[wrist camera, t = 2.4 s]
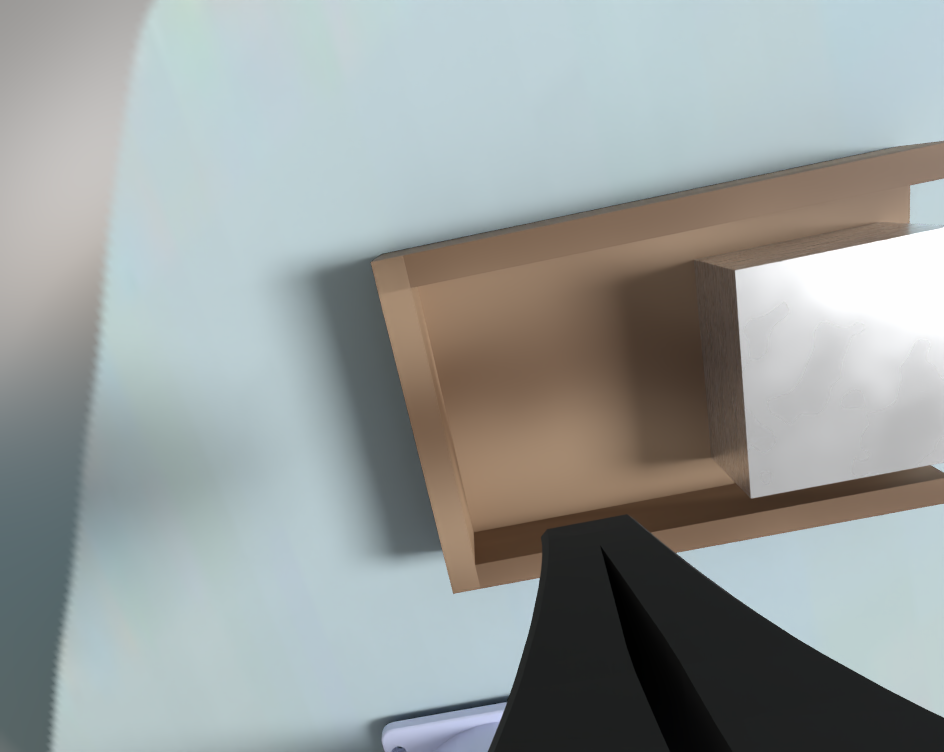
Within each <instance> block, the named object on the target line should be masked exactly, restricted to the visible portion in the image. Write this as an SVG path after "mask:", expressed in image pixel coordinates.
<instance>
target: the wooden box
mask: <svg viewBox="0 0 944 752" xmlns="http://www.w3.org/2000/svg"><path fill="white" fill-rule="evenodd" d="M943 178H944V141H940V142H931V143H923V144H914V145H906V146H898V147H893V148H888V149H883V150H878V151H873V152H869V153H864V154H859V155H854V156H849V157H845V158H840V159H835V160H830V161H825V162H821V163H816V164H811V165H806V166H801V167H797V168H792V169H787V170H782V171H778V172H773V173H768V174H763V175H758V176H754V177H749V178H744V179H739V180H734V181H730V182H725V183H720V184H715V185H710V186H706V187H701V188H696V189H691V190H686V191H682V192H677V193H672V194H667V195H662V196H658V197H653V198H648V199H643V200H639V201H634V202H629V203H624V204H619V205H615V206H610V207H605V208H600V209H595V210H591V211H586V212H581V213H576V214H571V215H567V216H562V217H557V218H552V219H547V220H543V221H538V222H533V223H528V224H524V225H519V226H514V227H509V228H504V229H500V230H495V231H490V232H485V233H480V234H476V235H471V236H466V237H461V238H456V239H452V240H447V241H442V242H437V243H432V244H428V245H423V246H418V247H413V248H408V249H404V250H399V251H394V252H389V253H385V254H382V255H380V256H379V257H377V258H376V259H374V260H373V261H372V262H371V266H372V270H373V274H374V278H375V282H376V286H377V290H378V294H379V298H380V302H381V306H382V310H383V314H384V318H385V322H386V326H387V330H388V334H389V338H390V342H391V346H392V350H393V354H394V358H395V362H396V366H397V370H398V374H399V378H400V382H401V386H402V390H403V394H404V398H405V402H406V406H407V410H408V414H409V418H410V422H411V426H412V430H413V434H414V438H415V442H416V446H417V450H418V454H419V458H420V462H421V466H422V470H423V474H424V478H425V482H426V486H427V490H428V494H429V498H430V502H431V506H432V510H433V514H434V518H435V522H436V526H437V530H438V534H439V538H440V542H441V547H442V551H443V555H444V559H445V563H446V567H447V571H448V575H449V579H450V583H451V587H452V591H453V594H454V593H460V592H465V591H470V590H476V589H481V588H487V587H492V586H498V585H503V584H509V583H514V582H519V581H525V580H530V579H536V578H540V573H541V565H542V542H541V536H542V535H543V534H544V532H545V531H546V530H547V529H550V528H556V527H561V526H566V525H572V524H577V523H582V522H588V521H593V520H599V519H604V518H609V517H615V516H620V515H625V514H628V515H629V516H631V517H632V518H633V519H635V520H636V521H637V522H638V523H640V524H641V525H642V526H643V527H644V528H646V529H647V530H648V531H649V532H650V533H652V534H653V535H654V536H655V537H656V538H658V539H659V540H660V541H661V542H662V543H664V544H665V545H666V546H667V547H669V548H670V549H671V550H672V551H674V552H675V553H677V552H683V551H688V550H693V549H699V548H704V547H710V546H715V545H721V544H726V543H732V542H737V541H742V540H748V539H753V538H759V537H764V536H770V535H775V534H780V533H786V532H791V531H797V530H802V529H808V528H813V527H819V526H824V525H829V524H835V523H840V522H846V521H851V520H857V519H862V518H867V517H873V516H878V515H884V514H889V513H895V512H900V511H906V510H911V509H916V508H922V507H927V506H933V505H938V504H944V473H943V472H941V471H940V470H938V469H936V468H934V467H933V466H931V465H928V466H923V467H917V468H912V469H907V470H901V471H896V472H891V473H885V474H880V475H875V476H869V477H864V478H859V479H853V480H848V481H842V482H837V483H832V484H826V485H821V486H816V487H810V488H805V489H800V490H794V491H789V492H784V493H778V494H773V495H767V496H762V497H757V498H750V497H749V496H748V495H747V494H746V493H745V492H744V491H743V490H742V489H741V488H740V487H739V486H738V485H737V484H736V483H735V482H734V481H733V480H732V478H731V477H730V476H729V475H728V474H727V473H726V472H725V471H724V470H723V469H722V468H721V467H720V466H719V465H718V464H717V463H716V462H715V461H714V460H713V459H712V457H711V446H710V435H709V424H708V413H707V401H706V390H705V379H704V368H703V357H702V346H701V335H700V324H699V312H698V301H697V290H696V279H695V268H694V259H699V258H704V257H709V256H714V255H719V254H724V253H729V252H734V251H738V250H743V249H748V248H753V247H758V246H763V245H768V244H773V243H778V242H783V241H788V240H792V239H797V238H802V237H807V236H812V235H817V234H822V233H827V232H832V231H837V230H842V229H846V228H851V227H856V226H861V225H866V224H871V223H876V222H893V223H909V219H910V185H914V184H919V183H924V182H929V181H934V180H938V179H943Z"/></svg>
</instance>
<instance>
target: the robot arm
mask: <svg viewBox="0 0 944 752" xmlns="http://www.w3.org/2000/svg"><path fill="white" fill-rule="evenodd" d="M541 542H542V565H541V573H540V581H539V588H538V593H537V598H536V602H535V607H534V612H533V617H532V622H531V626H530V630H529V634H528V637H527V641H526V644H525V647H524V651H523V654H522V658H521V661H520V664H519V668H518V671H517V675H516V678H515V681H514V684H513V687H512V690H511V693H510V695H509V698H508V701H507V702H504V703H498V704H493V705H487V706H481V707H476V708H470V709H464V710H458V711H453V712H447V713H441V714H436V715H430V716H424V717H419V718H413V719H407V720H402V721H396V722H392V723H389V724H387V725H386V726H385V727H384V729H383V731H382V738H381V740H382V745H383V748H384V752H944V718H943V717H941V716H939V715H937V714H935V713H933V712H931V711H928V710H926V709H925V708H923V707H921V706H919V705H917V704H915V703H913V702H911V701H909V700H907V699H905V698H903V697H901V696H899V695H897V694H895V693H893V692H891V691H889V690H887V689H885V688H883V687H882V686H880V685H878V684H876V683H874V682H873V681H871V680H869V679H867V678H865V677H864V676H862V675H860V674H858V673H856V672H855V671H853V670H851V669H849V668H847V667H845V666H844V665H842V664H840V663H838V662H836V661H835V660H833V659H831V658H829V657H827V656H826V655H824V654H822V653H820V652H819V651H817V650H815V649H814V648H812V647H810V646H809V645H807V644H805V643H803V642H802V641H800V640H798V639H797V638H795V637H794V636H792V635H790V634H789V633H787V632H786V631H784V630H783V629H781V628H780V627H778V626H777V625H775V624H773V623H772V622H770V621H769V620H767V619H766V618H764V617H763V616H761V615H760V614H758V613H757V612H755V611H754V610H752V609H751V608H749V607H748V606H746V605H745V604H744V603H742V602H741V601H739V600H738V599H736V598H735V597H733V596H732V595H731V594H729V593H728V592H727V591H725V590H724V589H723V588H721V587H720V586H718V585H717V584H716V583H714V582H713V581H712V580H710V579H709V578H707V577H706V576H705V575H703V574H702V573H701V572H699V571H698V570H697V569H695V568H694V567H693V566H691V565H690V564H689V563H688V562H686V561H685V560H684V559H682V558H681V557H680V556H679V555H677V554H676V553H675V552H674V551H672V550H671V549H670V548H669V547H667V546H666V545H665V544H664V543H662V542H661V541H660V540H659V539H658V538H656V537H655V536H654V535H653V534H652V533H650V532H649V531H648V530H647V529H646V528H644V527H643V526H642V525H641V524H640V523H638V522H637V521H636V520H635V519H633V518H632V517H631V516H629V515H628V514H625V515H620V516H615V517H609V518H604V519H599V520H593V521H588V522H582V523H577V524H572V525H566V526H561V527H556V528H550V529H547V530H546V531H545V532H544V534H543V535H542V536H541ZM397 747H403V748H397Z"/></svg>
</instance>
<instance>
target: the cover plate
mask: <svg viewBox="0 0 944 752" xmlns="http://www.w3.org/2000/svg"><path fill="white" fill-rule="evenodd" d="M694 268H695V279H696V290H697V301H698V312H699V324H700V335H701V346H702V357H703V368H704V379H705V390H706V401H707V413H708V424H709V435H710V446H711V457H712V459H713V460H714V461H715V462H716V463H717V464H718V465H719V466H720V467H721V468H722V469H723V470H724V471H725V472H726V473H727V474H728V475H729V476H730V477H731V478H732V480H733V481H734V482H735V483H736V484H737V485H738V486H739V487H740V488H741V489H742V490H743V491H744V492H745V493H746V494H747V495H748V496H749V497H750V498H757V497H762V496H767V495H773V494H778V493H784V492H789V491H794V490H800V489H805V488H810V487H816V486H821V485H826V484H832V483H837V482H842V481H848V480H853V479H859V478H864V477H869V476H875V475H880V474H885V473H891V472H896V471H901V470H907V469H912V468H917V467H923V466H928V465H934V464H939V463H944V225H929V224H911V223H893V222H876V223H871V224H866V225H861V226H856V227H851V228H846V229H842V230H837V231H832V232H827V233H822V234H817V235H812V236H807V237H802V238H797V239H792V240H788V241H783V242H778V243H773V244H768V245H763V246H758V247H753V248H748V249H743V250H738V251H734V252H729V253H724V254H719V255H714V256H709V257H704V258H699V259H694Z"/></svg>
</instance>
